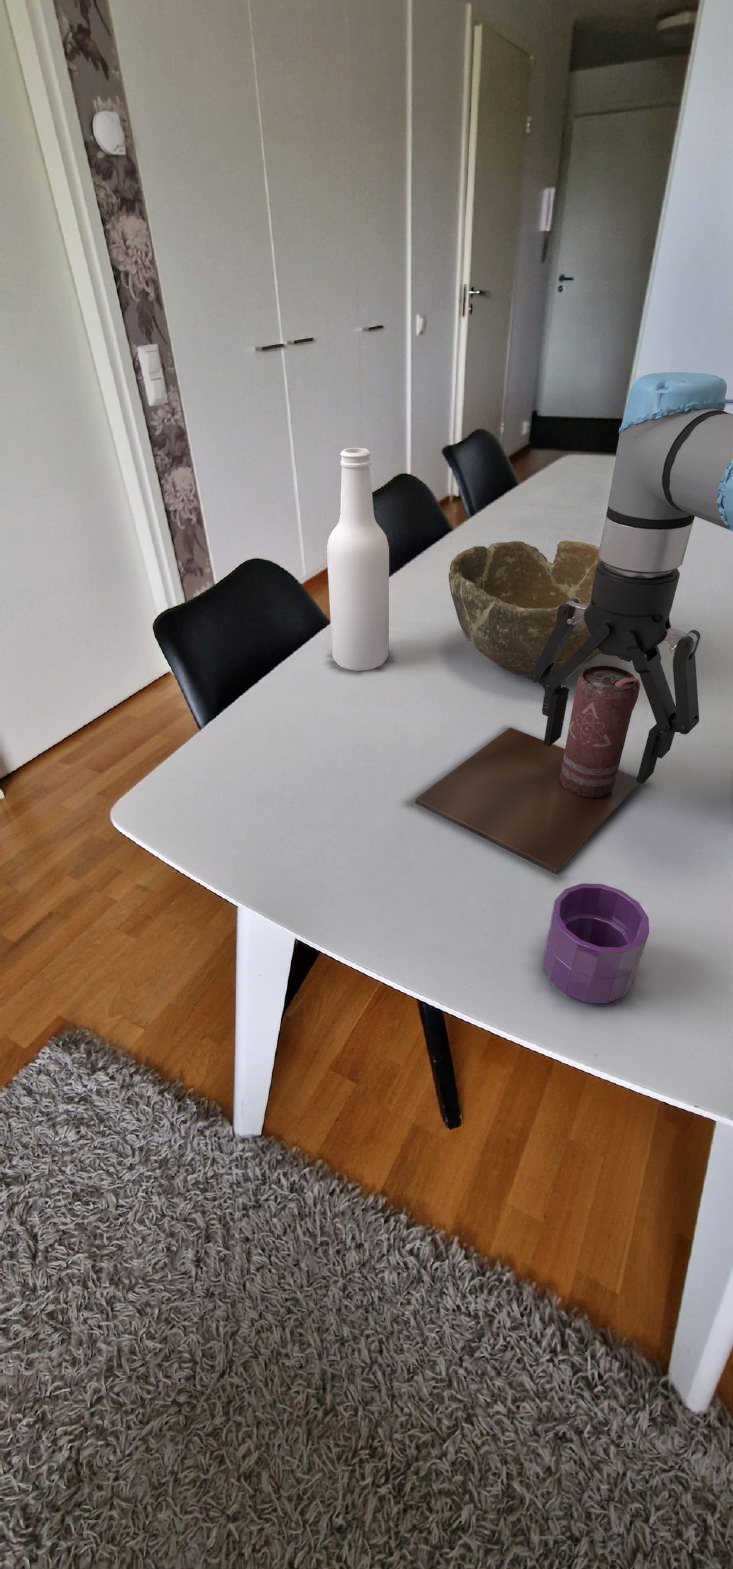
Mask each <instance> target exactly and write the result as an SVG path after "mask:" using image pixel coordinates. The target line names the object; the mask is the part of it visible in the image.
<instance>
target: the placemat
mask: <svg viewBox="0 0 733 1569" xmlns="http://www.w3.org/2000/svg"><path fill="white" fill-rule="evenodd" d="M543 744H544V739H541V738H538V737H536V736H533V735H531V734H528V733H526V732H523V731H521V730H518V729H515V728H513V727H508V728H507V729H506V730H505V731H503V732H502V733H501V734H499V735H498V736H496V738H494V739H493V740H492V741H490V742H489V743H487V744H486V745H485V746H483V747H482V748H481V749H479V750H478V751H477V752H476V753H474V754H472V756H470V757H469V758H467V759H466V760H465V761H463V762H462V763H461V764H460V765H458V766H457V767H456V768H454V769H453V770H452V771H450V772H449V773H448V774H446V775H445V776H444V777H442V778H441V779H440V780H439V781H437V782H436V783H434V784H433V785H431V786H430V787H429V788H428V789H426V790H425V791H424V792H422V793H421V794H419V796H417V797H416V798H414V799H415V802H414V803H415V804H416V805H419V806H421V807H422V808H425V809H427V810H429V811H431V812H433V813H435V814H437V815H438V816H440V817H443V818H444V819H447V820H448V821H450V822H453V823H454V824H456V825H459V826H460V827H462V828H465V829H466V830H468V831H470V832H472V833H474V834H476V835H478V836H480V837H481V838H484V839H486V840H487V841H490V842H492V843H494V844H496V845H498V846H500V847H502V848H504V849H505V850H507V851H509V852H511V853H513V854H515V855H517V856H519V857H521V858H523V859H525V860H527V861H529V862H532V863H533V864H535V865H537V866H539V867H540V868H543V869H545V870H547V871H549V872H551V873H553V874H554V875H557V874H558V872H560V870H561V869H562V868H563V867H564V866H565V865H566V864H567V863H568V862H569V861H570V860H571V859H572V858H573V857H574V855H575V854H576V853H577V852H578V851H579V850H580V849H581V848H582V847H583V846H584V845H585V844H586V843H587V842H588V841H589V840H590V839H591V838H592V837H593V836H594V834H596V832H597V831H598V830H599V829H600V828H601V827H602V826H603V825H604V824H605V823H606V822H607V820H608V819H609V818H610V817H611V816H613V814H614V813H615V812H616V811H617V810H618V809H619V808H620V807H621V806H622V805H623V803H625V801H626V800H627V799H628V798H629V797H630V796H631V795H632V794H633V793H634V792H635V791H636V790H637V789H638V788H639V787H640V786H641V785H642V784H641V783H638V782H636V780H637V776H633V775H631V774H629V773H626V772H623V771H621V770H619V769H618V772H617V776H616V781H615V785H614V787H613V789H612V790H611V791H610V792H609V793H608V794H606V795H604V796H602V797H598V798H584V797H580V796H577V795H574V794H572V793H571V792H569V791H567V789H566V788H565V787H564V786H563V784H562V782H561V780H560V774H561V768H562V763H563V757H564V752H565V748H563V747H561V746H559V745H556V744H554V743H553V744H552V745H551V746H550V747H548V746H546V745H543Z"/></svg>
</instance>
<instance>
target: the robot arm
mask: <svg viewBox="0 0 733 1569" xmlns="http://www.w3.org/2000/svg"><path fill="white" fill-rule="evenodd" d="M727 389H728V385H727V382H726V380H724V378H722V377H720V376H718V375H714V374H710V373H703V372H690V371H689V372H687V371H685V372H684V371H683V372H682V371H671V372H669V371H668V372H667V371H666V372H655V373H648V374H645V375H642V376H640V377H639V378H638V379H636V380H635V381H634V382H633V384H632V385H631V387H630V390H629V393H628V397H627V400H626V406H625V411H624V413H623V418H622V422H621V425H620V427H619V429H618V434H619V437H618V443H617V449H616V454H615V459H614V466H613V467H614V468H613V472H612V477H611V482H610V490H609V496H608V501H607V507H606V513H605V518H604V522H603V529H602V534H601V539H600V543H599V547H600V548H599V553H598V556H599V558H600V559H601V560H602V561H601V562H600V563H598V564H597V566H596V572H595V577H594V582H593V588H592V593H591V602H590V604H589V606H587V605H583V604H580V602H579V600H578V599H576V598H573V599H571V600H569V601H567V602H566V603H564V604H562V605H561V606H560V607H559V608H558V613H557V621H556V626H555V628H554V630H553V632H552V634H551V636H550V638H549V640H548V642H547V644H546V645H545V647H544V649H543V651H542V653H541V655H540V657H539V659H538V661H537V663H536V665H535V667H534V669H533V671H532V673H531V675H530V676H529V679H530V681H531V682H532V683H534V684H536V683H538V684H539V685H541V687H542V688H543V690H544V694H543V700H542V706H541V712H542V715H543V716H546V717H547V720H546V726H545V732H544V739H543V741H544V744H543V745H546V746H548V747H550V746H551V745H552V744H553V745H554V743H556V742H557V741H558V740H559V739H560V738H562V734H563V727H564V722H565V716H566V710H567V705H568V699H569V694H570V693H569V692H570V687H567V686H564V684H565V683H566V682H567V680H568V679H570V677H571V676H573V675H574V674H575V672H577V671H578V670H579V669H580V667H582V666H581V665H582V664H584V663H585V662H586V661H587V660H588V659H589V658H590V657H591V656H592V655H593V654H594V653H595V652H596V651H597V650H598V649H599V650H600V651H601V653H600V655H604V656H608V657H616V658H618V659H620V660H621V661H623V662H627V663H632V666H633V668H634V671H635V673H636V674H638V675H639V678H640V681H641V683H642V686H643V689H644V692H645V695H646V697H647V698H646V699H647V700H648V703H649V706H650V709H651V711H652V715H653V718H654V720H655V724H654V725H653V726H652V727H651V728H650V729H649V731H648V735H647V739H646V743H645V746H644V750H643V753H642V756H641V761H640V765H639V770H638V773H637V776H636V778H637V780H636V782H638V783H641V784H640V785H644V784H645V783H646V782H647V781H648V780H649V779H650V777H651V776H652V775H653V774H654V772H655V768H656V765H657V762H658V759H661V760H662V759H663V758H664V757H665V756H666V755H667V754H668V753H669V752H670V750H671V748H672V744H673V741H674V737H675V735H676V734H675V733H679V734H681V735H688V734H690V732H692V730H693V729H694V728H695V727H696V726H697V725H698V724H699V722H700V707H699V694H698V692H699V690H698V679H697V677H698V676H697V662H696V652H697V650H698V647H699V644H700V640H701V633H700V632H699V631H698V630H697V629H696V630H695V629H691V630H690V631H688V632H687V631H683V630H680V629H678V628H677V629H676V628H673V627H672V625H671V621H670V615H671V611H672V608H673V604H674V600H675V596H676V592H677V588H678V584H679V580H680V576H681V573H680V571H679V569H678V568H680V567H681V566H682V565H683V564H684V559H685V555H686V551H687V548H688V544H689V541H690V537H691V532H692V529H693V526H694V522H695V517H696V518H699V519H701V520H703V521H705V522H708V523H711V524H713V525H716V526H719V527H720V528H724V529H725V530H728V531H730V532H732V533H733V413H730V412H727V411H725V409H726V406H727V404H726V395H727ZM582 618H584V620H585V622H586V625H587V627H588V629H589V632H590V634H591V637H590V638H589V639H588V640H587V641H586V642H585V643H584V644H583V645H582V646H581V647H580V648H579V649H578V651H577V652H576V653H575V654H574V655H573V656H572V657H571V658H570V659H569V660H568V661H567V662H566V663H565V664H564V665H563V666H562V667H561V668H560V669H559V670H558V671H557V672H556V673H555V674H554V673H552V672H551V670H552V668H553V667H554V665H555V663H556V661H557V659H558V657H559V655H560V654H561V652H562V650H563V648H564V646H565V644H566V642H567V641H568V639H569V637H570V635H571V633H572V631H573V629H574V628H575V625H576V624H577V623H579V622H580V621H581V620H582ZM664 641H665V642H667V643H668V645H669V653H670V655H673V658H672V677H673V688H674V697H673V695H672V692H671V688H670V685H669V683H668V680H667V677H666V675H665V671H664V668H663V665H662V655H661V651H660V649H659V645H660V644H662V643H663V642H664ZM562 685H563V686H562Z"/></svg>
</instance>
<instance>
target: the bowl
mask: <svg viewBox="0 0 733 1569" xmlns="http://www.w3.org/2000/svg"><path fill="white" fill-rule="evenodd" d="M556 546H557V547H556V553H555V557H554V559H553V562H550V561H548V558H547V557H546V555H545V554H543V552H541V551H540V550H539V548H537V547H535V546H532V545H531V544H529V543H525V541H521V540H520V541H519V540H513V541H506V542H505V541H501V542H493V543H491V544H490V545H489V546H488V547H486V546H484V545H477V546H472V547H470V548H467V549H465V550H463V551H461V552H460V553H458V554H456V555H455V557H454V558H453V559H452V560H451V561H450V565H449V571H448V572H449V573H448V576H447V577H448V584H449V591H450V595H451V598H452V603H453V606H454V610H455V613H456V616H457V620H458V624H459V626H460V627H461V631H462V632H463V634H464V637H465V638H466V640H467V641H469V642H470V643H471V645H473V646H474V648H475V649H477V651H478V652H480V653H481V654H482V655H484V656H485V657H486V658H488V659H489V660H490V661H491V662H493V663H494V664H496V665H497V666H499V667H500V668H502V669H504V670H506V671H508V672H511V673H513V674H517V675H518V676H519V675H520V676H526V677H530V675H531V673H532V671H533V669H534V667H535V665H536V663H537V661H538V659H539V657H540V655H541V653H542V651H543V649H544V647H545V645H546V644H547V642H548V640H549V638H550V636H551V634H552V632H553V630H554V628H555V626H556V621H557V613H558V608H559V607H560V606H561V605H562V604H564V603H566V602H567V601H569V600H571V599H573V598H576V599H578V600H579V602H580V604H583V605H587V606H589V604H590V602H591V593H592V588H593V582H594V577H595V572H596V566H597V564H598V563H600V562H601V561H602V560H601V559H600V558H599V556H598V553H599V548H600V546H597V545H594V544H591V543H586V542H582V541H575V540H561V541H559V542H558V543H557V545H556ZM590 637H591V634H590V632H589V629H588V627H587V625H586V622H585V620H584V618H582V620H581V621H580V622H579V623H577V624H576V625H575V628H574V629H573V631H572V633H571V635H570V637H569V639H568V641H567V642H566V644H565V646H564V648H563V650H562V652H561V654H560V655H559V657H558V659H557V661H556V663H555V665H554V667H553V668H552V670H551V672H552V673H554V674H555V673H556V672H557V671H558V670H559V669H560V668H561V667H562V666H563V665H564V664H565V663H566V662H567V661H568V660H569V659H570V658H571V657H572V656H573V655H574V654H575V653H576V652H577V651H578V649H579V648H580V647H581V646H582V645H583V644H584V643H585V642H586V641H587V640H588V639H589V638H590ZM599 655H601V651H600V650H599V649H598V650H597V651H596V652H595V653H594V654H593V655H592V656H591V657H590V658H589V659H588V660H587V661H586V662H585V663H584V664H582V665H581V666H580V667H583V666H585V665H587V664H589V663H590V662H592V661H593V660H594V659H596V658H597V657H598V656H599Z"/></svg>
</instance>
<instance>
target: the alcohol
mask: <svg viewBox="0 0 733 1569" xmlns="http://www.w3.org/2000/svg"><path fill="white" fill-rule="evenodd" d="M371 454H372V452H371V451H370V450H369V449H368V448H364V447H347V448H344V449H342V451H340V453H339V456H340V457H341V460H340V462H339V464H340V466H341V474H340V476H341V478H340V479H341V480H340V481H341V482H340V483H341V484H340V505H339V507H340V508H339V518H338V522H337V524H336V525H335V527H334V528H333V530H332V531H331V533H330V534H329V536H328V540H327V545H326V559H327V561H326V562H327V581H328V582H327V583H328V597H329V598H328V599H329V617H330V618H329V619H330V620H329V621H330V638H331V653H332V654H331V655H332V659H333V660H334V661H335V663H336V665H338V666H339V667H341V668H343V669H346V670H349V671H354V672H355V671H358V672H360V671H370V670H375V669H377V668H380V667H381V666H383V665H384V664H385V662H386V660H387V659H388V658H389V655H390V546H389V542H388V537H387V535H386V533H385V531H384V530H383V529H382V527H381V526H380V525H379V524H378V523H377V520H376V517H375V511H374V499H373V489H372V477H371V476H372V475H371V464H372V461H371V458H370V456H371Z"/></svg>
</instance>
